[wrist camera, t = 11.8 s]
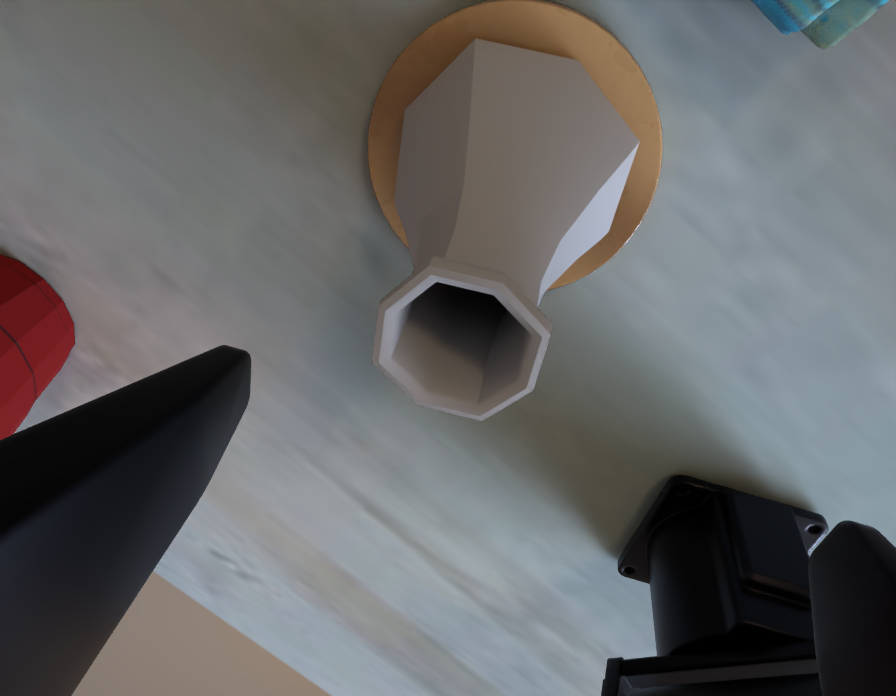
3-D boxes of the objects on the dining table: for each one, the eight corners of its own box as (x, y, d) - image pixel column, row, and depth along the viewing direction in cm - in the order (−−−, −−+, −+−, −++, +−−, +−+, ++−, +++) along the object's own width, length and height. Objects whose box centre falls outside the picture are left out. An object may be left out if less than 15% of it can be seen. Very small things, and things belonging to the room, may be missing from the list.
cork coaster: (598, 317, 22) (598, 324, 22) (354, 247, 22) (350, 253, 22) (715, 47, 17) (718, 49, 17) (396, -42, 17) (392, -40, 17)
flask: (685, 127, 18) (771, 301, 10) (545, 310, 22) (522, 541, 14) (464, -15, 17) (353, 48, 9) (360, 205, 21) (218, 387, 13)
